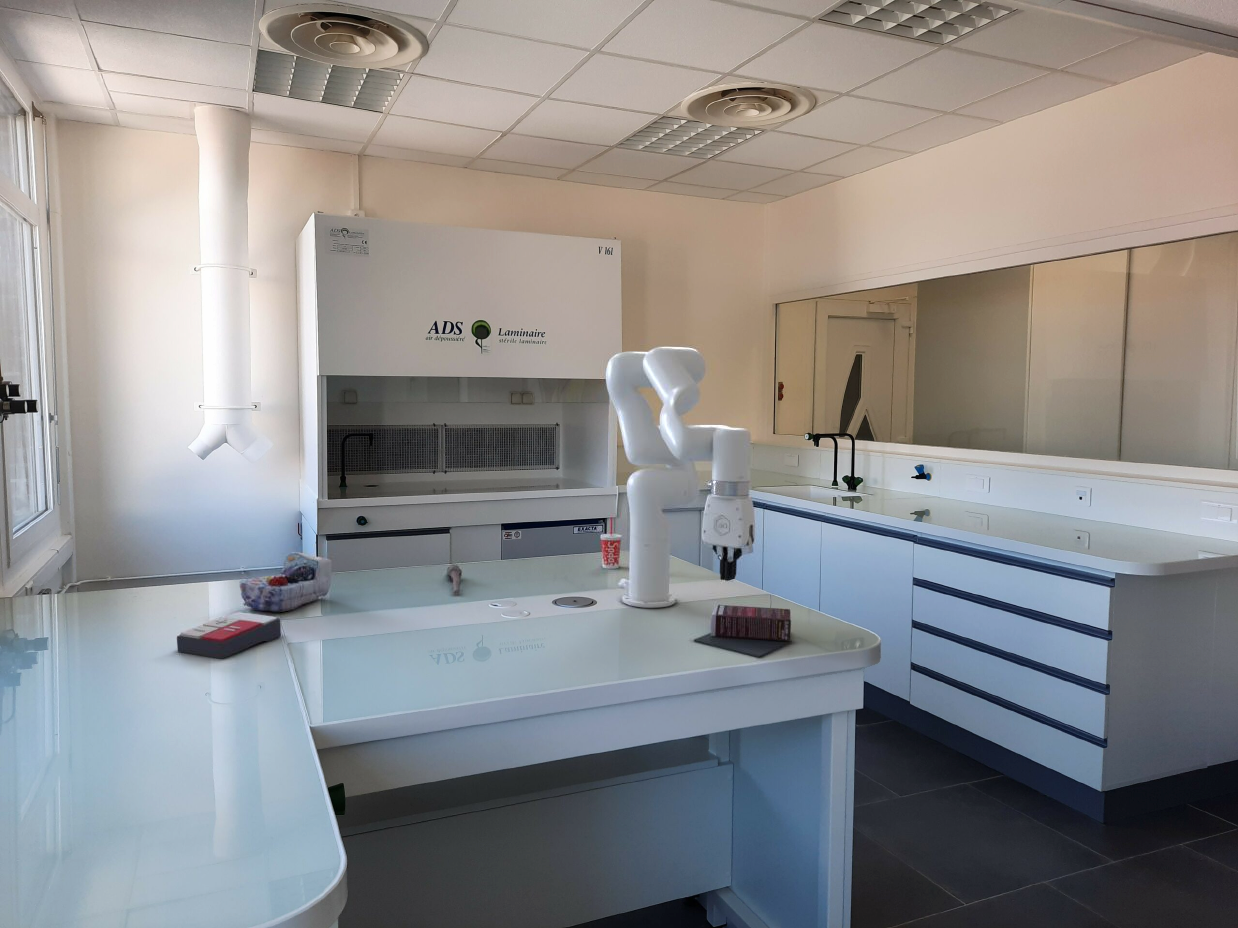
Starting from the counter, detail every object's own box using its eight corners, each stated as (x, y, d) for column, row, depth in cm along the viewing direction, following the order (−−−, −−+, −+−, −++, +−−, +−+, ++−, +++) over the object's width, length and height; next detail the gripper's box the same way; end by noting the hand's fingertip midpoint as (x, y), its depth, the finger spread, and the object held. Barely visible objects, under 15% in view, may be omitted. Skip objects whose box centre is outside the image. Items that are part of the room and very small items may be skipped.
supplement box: (710, 637, 169) (790, 642, 166) (711, 614, 169) (791, 618, 166) (714, 625, 178) (790, 630, 175) (714, 603, 177) (790, 607, 174)
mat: (693, 641, 167) (693, 639, 167) (728, 627, 177) (728, 625, 177) (759, 657, 158) (759, 655, 158) (792, 642, 168) (792, 640, 168)
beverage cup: (597, 568, 233) (598, 518, 231) (601, 564, 239) (602, 515, 237) (619, 569, 232) (620, 519, 230) (623, 565, 238) (624, 516, 236)
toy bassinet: (338, 551, 195) (277, 570, 176) (339, 596, 196) (278, 620, 177) (293, 546, 199) (228, 564, 180) (294, 590, 200) (230, 613, 182)
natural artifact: (454, 579, 222) (463, 566, 222) (457, 597, 200) (467, 583, 200) (442, 571, 221) (452, 558, 221) (443, 588, 199) (453, 574, 199)
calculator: (175, 632, 154) (237, 608, 168) (176, 654, 155) (238, 629, 169) (221, 639, 151) (281, 614, 165) (223, 662, 151) (282, 635, 165)
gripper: (689, 487, 169) (686, 576, 171) (753, 494, 160) (750, 588, 162) (709, 484, 175) (707, 570, 177) (772, 491, 166) (769, 582, 167)
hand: (727, 579), depth 169 cm, fingers closed
